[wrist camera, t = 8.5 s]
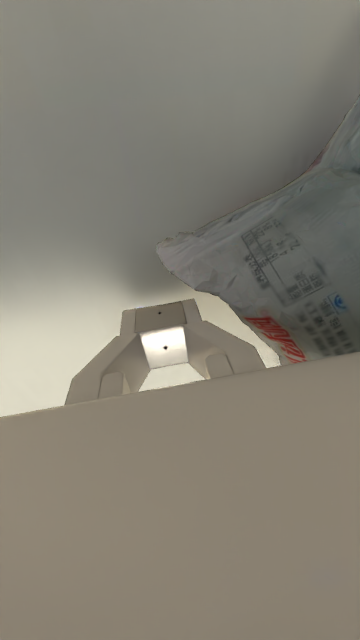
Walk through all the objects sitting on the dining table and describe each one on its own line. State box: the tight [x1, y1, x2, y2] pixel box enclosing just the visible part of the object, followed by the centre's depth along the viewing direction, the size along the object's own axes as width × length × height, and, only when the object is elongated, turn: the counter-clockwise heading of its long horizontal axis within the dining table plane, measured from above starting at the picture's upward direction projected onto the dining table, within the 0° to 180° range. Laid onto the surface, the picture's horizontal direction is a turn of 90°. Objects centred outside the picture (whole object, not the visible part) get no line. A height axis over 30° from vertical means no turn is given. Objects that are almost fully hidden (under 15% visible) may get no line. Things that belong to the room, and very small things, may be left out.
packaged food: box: [156, 95, 360, 366], centre depth 9 cm, size 9×12×5 cm
